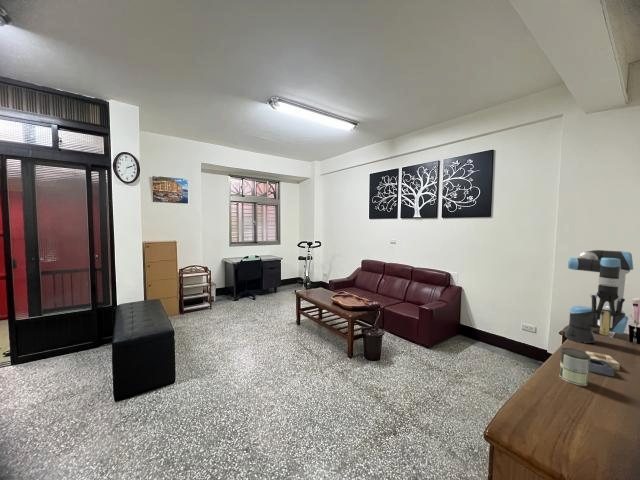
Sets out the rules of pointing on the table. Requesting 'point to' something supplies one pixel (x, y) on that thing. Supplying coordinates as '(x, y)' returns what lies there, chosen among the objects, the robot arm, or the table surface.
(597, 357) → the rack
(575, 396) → the table surface
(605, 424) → the table surface
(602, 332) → the peg
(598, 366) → the socket
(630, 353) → the table surface
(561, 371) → the coffee can
